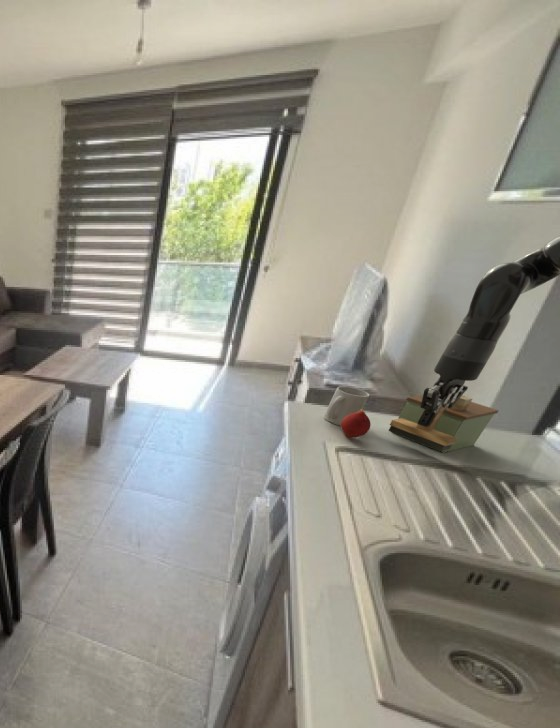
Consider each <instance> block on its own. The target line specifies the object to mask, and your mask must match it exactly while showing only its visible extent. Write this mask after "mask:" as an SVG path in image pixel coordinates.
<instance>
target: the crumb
mask: <svg viewBox="0 0 560 728" xmlns="http://www.w3.org/2000/svg"><path fill="white" fill-rule="evenodd" d="M470 402H473V398H472V397H469V396H466V395H464V394H463V395H462V396H461V397H460V398H459V399H458V400H457V402H456V403H455V404H454V405H453V406H452V407H451V409H454V410H457V411H462V410H466V409H467V407H468V406H469V404H470Z"/></svg>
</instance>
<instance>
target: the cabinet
mask: <svg viewBox="0 0 560 728" xmlns="http://www.w3.org/2000/svg"><path fill="white" fill-rule="evenodd" d="M422 398H423V394H418V395H413V396H408V397H406V399H405V400H406V403H405V405H404V407H403V409H402V410H401V413H400V414H399V415H398V417H397V419H399V418H403V419H406V420H408V421H411V422H414V423H417V424H418V421H419V419H420V417H421V416H422V414H423V412H424V409H423V408H421V403H422ZM498 413H499V409H495V408H492V407H489V406H486V405H483V404H480V403H477V402H473V401H471V402H470V404H469V406H468V407H467V409H466V410H462V411H457V410H454V409H451V408H450V409H449V408H447V410H446V411H445V412H443V413H442V415H441V417H440V418H439V420H438V422H437V423H436V425H435V426H434V428H433V429H434V430H436V431H439V432H442V433H445V434H448V435H450V436H453V437H456V438H458V440H457V441H456V443H455V444H452V446H451V447H450V449H447V450H443V451H442V452H441V453H443V452H444V453H448V452H451V451H456V450H459V449H463V448H468V447H472V446H474V445H476V443H477V441H478V439H479V438H480V436H481V435H482V433H483V432H484V430H485V429H486V427H487V426H488V424H489V423H490V421H491V419H492V418H493V417H494V415H496V414H498ZM394 434H395V435H397V434H396V433H394ZM399 436H400V437H402V436H401V435H399ZM404 438H406V437H404ZM406 439H408V440H410V441H412V442H415V443H418V444H420V445H423V446H425V447H428V448H430V447H429V446H427V445H424V444H422V443H419V442H416V441H414V440H411V439H409V438H406ZM430 449H433V448H432V447H431V448H430ZM433 450H435V448H434V449H433ZM435 451H438V450H437V449H436V450H435ZM447 451H448V452H447ZM438 452H440V450H439V451H438Z"/></svg>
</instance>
